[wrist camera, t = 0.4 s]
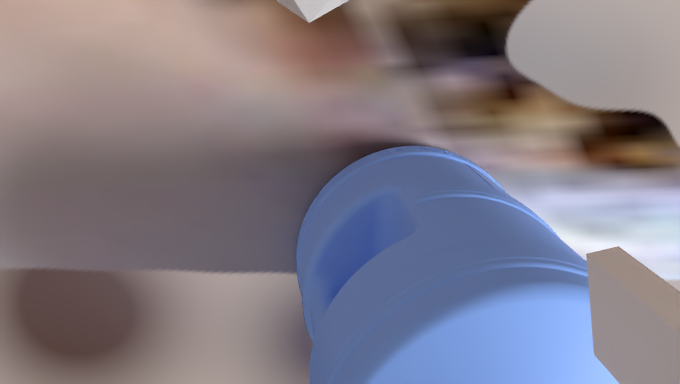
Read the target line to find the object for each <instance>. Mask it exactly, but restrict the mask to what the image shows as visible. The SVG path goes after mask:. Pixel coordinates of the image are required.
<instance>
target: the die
mask: <svg viewBox="0 0 680 384" xmlns="http://www.w3.org/2000/svg"><path fill="white" fill-rule="evenodd" d="M276 1H277V2H279V3H280V4H282V5H283V6H285V7H286V8H288V9H289V10H291V11H292V12H294V13H295V14H297V15H298V16H300V17H301V18H303V19H304V20H306V21H307V22H309V23H310V22H311V21H313V20H315V19H317V18H318V17H320V16H322V15H324V14H325V13H327V12H329V11H331V10H333V9H334V8H336V7H338V6H340V5H341V4H343V3H345V2H347V1H348V0H276Z"/></svg>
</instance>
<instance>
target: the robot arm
mask: <svg viewBox="0 0 680 384" xmlns="http://www.w3.org/2000/svg"><path fill="white" fill-rule="evenodd" d="M586 255H587V269H588V283H589V296H590V310H591V324H592V337H593V351H594V355H595V356H596V357H597V359H598V360H599V361H600V362H601V363H602V364H603V365H604V367H605V368H606V369H607V370H608V371H609V372H610V373H611V374H612V376H613V377H614V378H615V379H616V380H617V381H618V382H619V384H680V292H679V291H678V290H677V289H675V288H674V287H673V286H671V285H670V284H669V283H667V282H666V281H665V280H663V279H662V278H660V277H659V276H658V275H656V274H655V273H654V272H652V271H651V270H650V269H648V268H647V267H646V266H644V265H643V264H642V263H640V262H639V261H637V260H636V259H635V258H633V257H632V256H631V255H629V254H628V253H627V252H625V251H624V250H623V249H621V248H620V247H619V246H618V247H614V248H610V249H606V250H601V251H597V252H593V253H589V254H586Z"/></svg>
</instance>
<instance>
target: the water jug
mask: <svg viewBox="0 0 680 384" xmlns="http://www.w3.org/2000/svg"><path fill="white" fill-rule="evenodd" d="M296 265H297V276H298V283H299V288H300V292H301V295H302V304H303V314H304V319H305V324H306V327H307V330H308V333H309V336H310V338H311V340H312V342H313V347H312V353H311V359H310V384H619V382H618V381H617V380H616V379H615V378H614V377H613V376H612V374H611V373H610V372H609V371H608V370H607V369H606V368H605V367H604V365H603V364H602V363H601V362H600V361H599V360H598V359H597V357H596V356H595V355H594V351H593V337H592V324H591V310H590V296H589V283H588V269H587V261H585V260H584V259H583V258H582V257H580V256H579V255H578V254H577V253H576V252H575V251H573V250H572V249H571V248H570V247H569V246H568V245H567V244H565V243H564V242H563V241H562V240H561V239H560V238H559V237H558V236H557V234H556V233H555V232H554V231H553V230H552V229H551V228H550V227H549V226H548V225H547V224H546V223H545V222H544V221H543V220H542V219H541V218H540V217H538V216H537V215H536V214H535V213H534V212H533V211H531V210H530V209H529V208H528V207H526V206H525V205H523V204H522V203H520V202H519V201H517V200H516V199H514V198H512V197H511V196H510V195H509V194H507V193H506V192H505V190H504V189H503V188H502V187H501V186H500V185H499V183H498V182H497V181H496V180H495V179H494V178H492V177H491V176H490V175H489V174H488V173H487V172H485V171H484V170H483V169H482V168H480V167H479V166H478V165H476V164H475V163H473V162H472V161H470V160H468V159H467V158H465V157H463V156H460V155H458V154H456V153H453V152H450V151H447V150H443V149H439V148H434V147H427V146H402V147H395V148H390V149H385V150H382V151H378V152H375V153H372V154H370V155H367V156H365V157H363V158H361V159H359V160H357V161H355V162H353V163H352V164H350V165H349V166H347V167H346V168H344V169H343V170H341V171H340V172H339V173H338V174H336V175H335V176H334V177H333V178H332V179H331V180H330V181H329V182H328V183H327V184H326V185H325V186H324V187H323V188H322V190H321V191H320V192H319V193H318V195H317V196H316V197H315V199H314V200H313V202H312V204H311V205H310V207H309V209H308V211H307V213H306V215H305V217H304V220H303V222H302V225H301V228H300V232H299V236H298V241H297V250H296Z"/></svg>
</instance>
